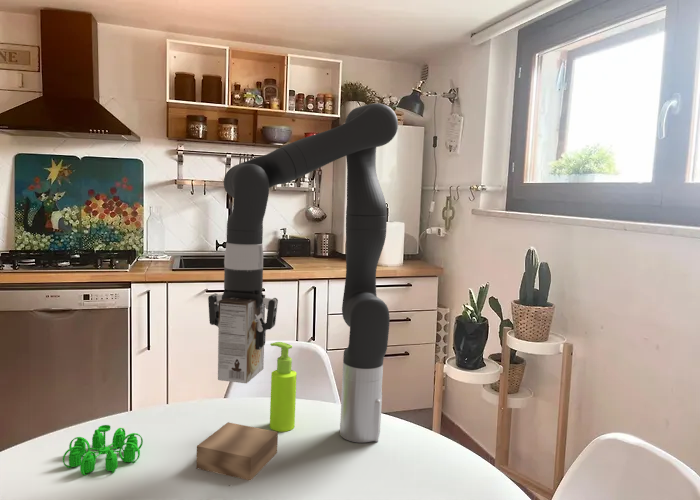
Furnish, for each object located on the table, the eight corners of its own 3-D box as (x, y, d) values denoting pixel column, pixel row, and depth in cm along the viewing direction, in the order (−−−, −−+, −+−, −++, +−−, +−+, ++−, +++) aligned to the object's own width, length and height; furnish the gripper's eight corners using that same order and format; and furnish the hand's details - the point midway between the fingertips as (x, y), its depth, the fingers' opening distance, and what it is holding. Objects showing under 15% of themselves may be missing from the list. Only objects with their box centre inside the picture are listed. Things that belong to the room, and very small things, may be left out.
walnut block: (277, 454, 114) (277, 431, 114) (250, 482, 103) (251, 457, 102) (227, 444, 118) (227, 422, 117) (196, 469, 106) (196, 445, 106)
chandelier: (44, 475, 102) (44, 440, 101) (92, 439, 117) (91, 409, 116) (118, 483, 100) (118, 448, 99) (157, 446, 115) (157, 415, 114)
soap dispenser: (278, 417, 132) (281, 338, 130) (299, 425, 128) (302, 344, 126) (261, 425, 127) (263, 343, 125) (282, 434, 123) (285, 349, 121)
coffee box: (235, 366, 114) (237, 291, 112) (264, 369, 112) (266, 294, 111) (216, 380, 105) (218, 300, 103) (247, 384, 103) (249, 302, 102)
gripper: (284, 265, 109) (281, 345, 111) (216, 261, 111) (215, 339, 113) (273, 270, 101) (270, 355, 103) (201, 265, 103) (200, 349, 105)
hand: (241, 347), depth 108 cm, fingers closed on coffee box, 6 cm apart
